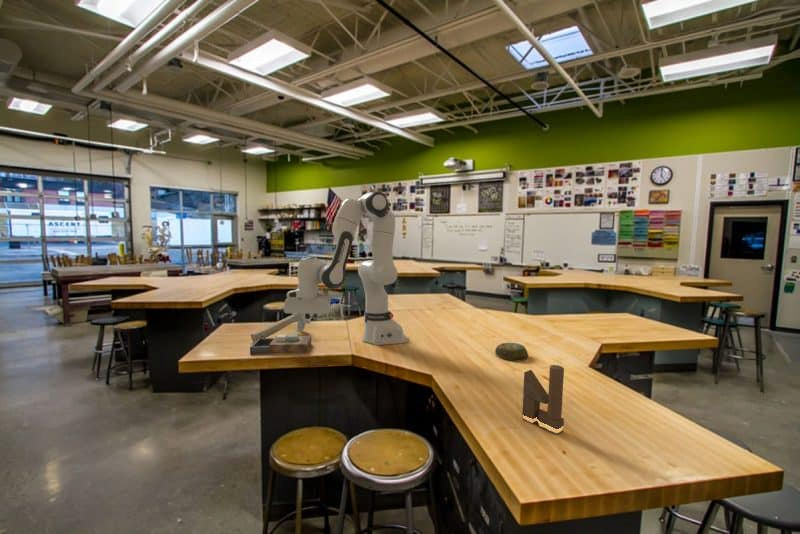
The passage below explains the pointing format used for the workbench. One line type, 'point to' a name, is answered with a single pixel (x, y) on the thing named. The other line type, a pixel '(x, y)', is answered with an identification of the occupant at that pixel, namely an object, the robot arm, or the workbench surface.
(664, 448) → the workbench surface
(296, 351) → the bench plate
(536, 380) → the brown letter n
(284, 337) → the tile
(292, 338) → the tile
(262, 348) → the tray
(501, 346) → the weight
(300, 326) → the hammer
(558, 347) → the workbench surface
